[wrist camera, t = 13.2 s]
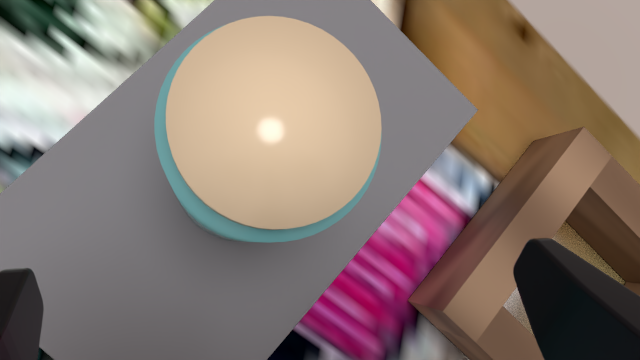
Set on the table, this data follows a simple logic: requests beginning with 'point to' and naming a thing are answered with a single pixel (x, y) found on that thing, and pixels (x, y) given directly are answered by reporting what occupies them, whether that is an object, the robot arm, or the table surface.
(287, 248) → the gray rectangular panel
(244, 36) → the teal jar
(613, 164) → the walnut frame
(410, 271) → the table surface
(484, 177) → the table surface
